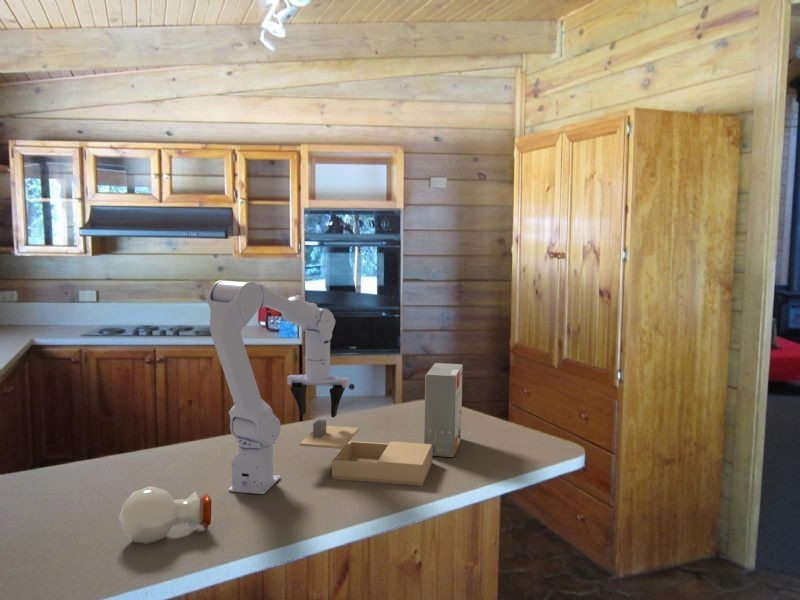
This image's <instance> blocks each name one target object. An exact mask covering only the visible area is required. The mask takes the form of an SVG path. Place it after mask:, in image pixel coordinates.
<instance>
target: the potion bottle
mask: <svg viewBox="0 0 800 600" xmlns="http://www.w3.org/2000/svg"><path fill="white" fill-rule="evenodd" d="M118 520H119V524H120V527H121V530H122V533H124V535H126V536H127V537H128V538H129V539H130V540H131V541H133V542H134V543H140V544H143V545H144V544H145V545H150V544H152V543H154V542H158V541H160V540H163V539H165V538H166V537H167V535H168V534H169V532H170V530H171V529H172V527H173V526H182V525H183V526H185V525H186V526H187V527H189V528H190V529H191V530H192V531H196V529H197V528H198V527H199V526H202V527H203V528H205V529H207V528H208V527H209V526H210V525H211V524H212V499H211V497H210V495H209V494H208V492H206V493H205V494H204V496H202V497H200V495H199V494H198V492H197V491H196V490H195V491H193V493H192V494H190V495H189V497H187V498H181V499H173V497H172V496H171V495H170V493H169V491H167V490H165V489H163V488H159V487H155V486H151V485H149V486H146V487H144V488H141V489H138V490H135V491H133V492H132V493H131V494H130V496H128V497H127V499H126V500H125V501H124V503H123V504H122V507H121V510H120V513H119V516H118Z"/></svg>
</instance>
